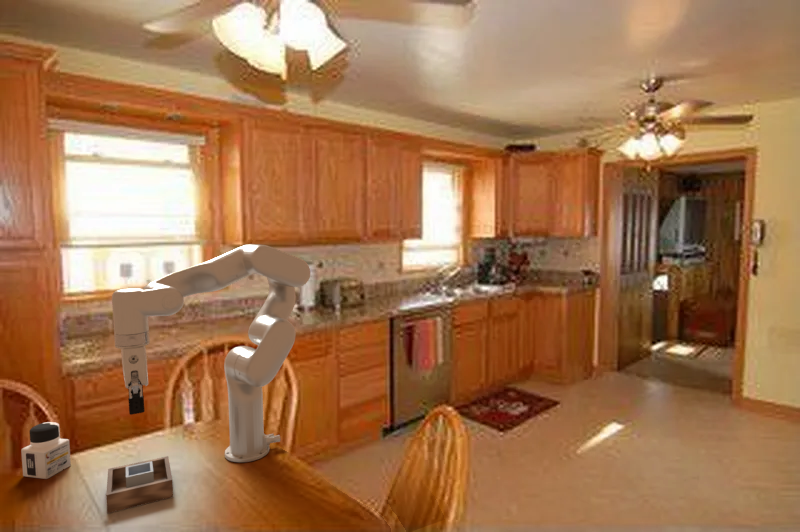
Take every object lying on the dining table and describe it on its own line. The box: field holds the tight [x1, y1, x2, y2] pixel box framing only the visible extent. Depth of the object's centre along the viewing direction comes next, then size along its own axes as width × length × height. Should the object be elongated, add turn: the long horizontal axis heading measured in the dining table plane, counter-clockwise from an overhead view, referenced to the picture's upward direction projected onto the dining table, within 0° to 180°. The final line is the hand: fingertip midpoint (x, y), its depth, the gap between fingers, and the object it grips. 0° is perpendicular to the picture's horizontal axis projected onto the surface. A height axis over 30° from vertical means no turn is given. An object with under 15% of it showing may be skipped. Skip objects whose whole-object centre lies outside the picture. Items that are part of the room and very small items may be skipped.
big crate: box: [105, 455, 174, 514], centre depth 124 cm, size 14×14×4 cm
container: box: [20, 421, 72, 480], centre depth 134 cm, size 8×8×13 cm
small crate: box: [126, 461, 154, 488], centre depth 124 cm, size 6×6×5 cm
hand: (136, 406), depth 122 cm, fingers open, 9 cm apart
